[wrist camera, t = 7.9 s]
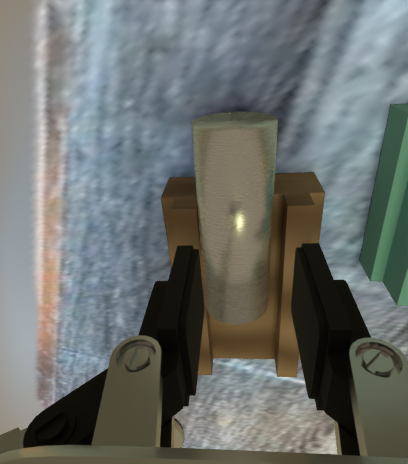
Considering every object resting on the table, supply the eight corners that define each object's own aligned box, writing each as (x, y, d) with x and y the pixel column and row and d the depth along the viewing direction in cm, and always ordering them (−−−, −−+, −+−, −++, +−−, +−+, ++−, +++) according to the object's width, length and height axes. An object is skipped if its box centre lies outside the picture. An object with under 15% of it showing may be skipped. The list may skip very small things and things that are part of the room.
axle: (269, 283, 29) (266, 328, 24) (210, 278, 30) (198, 320, 25) (278, 110, 21) (276, 131, 17) (201, 112, 22) (182, 132, 18)
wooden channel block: (298, 328, 37) (308, 377, 32) (189, 328, 38) (182, 374, 33) (313, 172, 28) (331, 204, 23) (169, 177, 29) (155, 209, 24)
